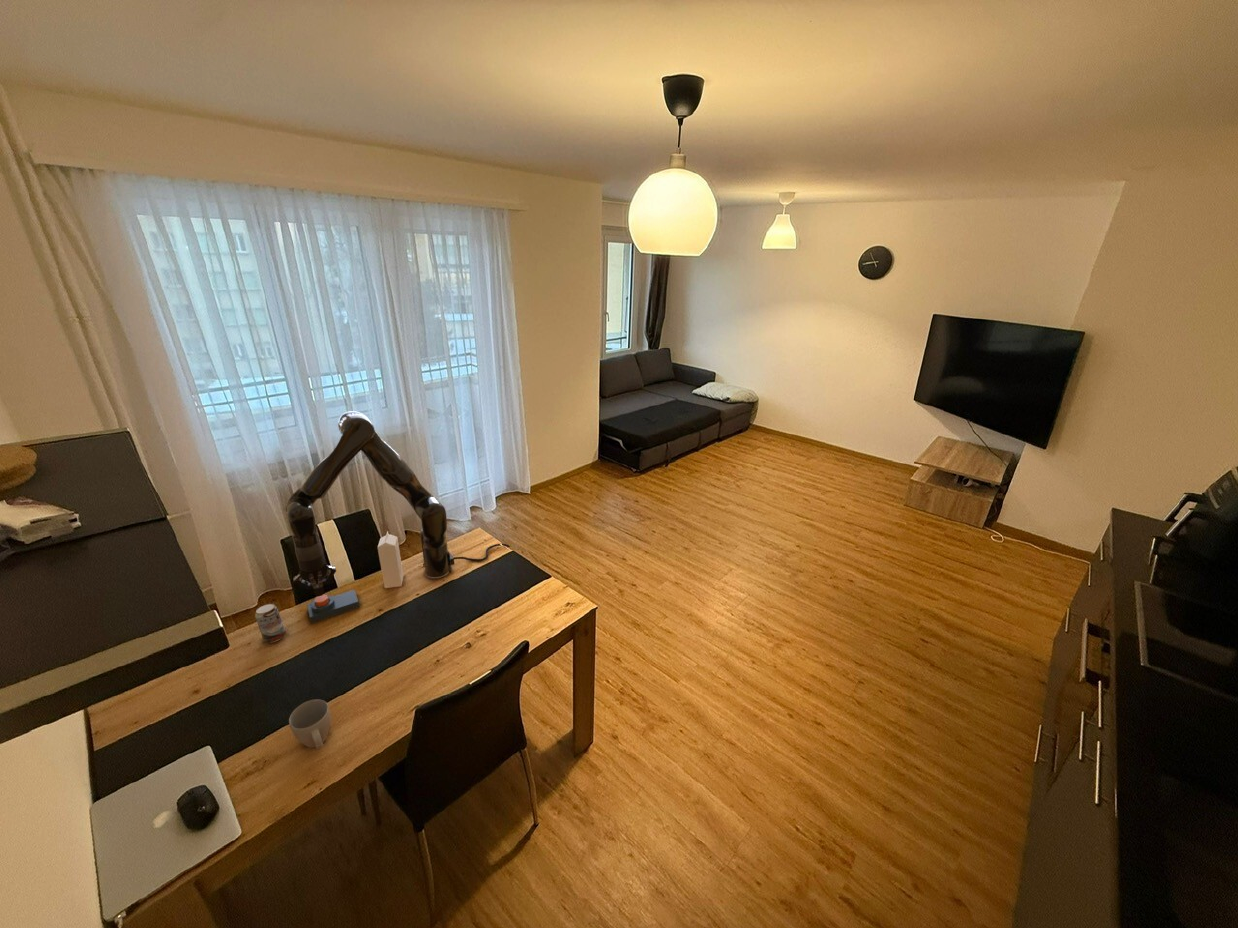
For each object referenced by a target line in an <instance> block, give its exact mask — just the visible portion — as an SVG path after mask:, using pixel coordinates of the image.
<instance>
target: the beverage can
mask: <svg viewBox="0 0 1238 928" xmlns="http://www.w3.org/2000/svg"><path fill="white" fill-rule="evenodd" d="M254 617H255V620H256V623H257V626H258V629H259V631H260V635H261V638H262V640H263V642H264V643H268V644H269V643H270V644H272V643H275V642H278V641H279V640H281V639H283V637H284V636H285V635H286V630H285V627H284V623H283V620H282V617H281V615H280V611H279V609H278V607H277V606H275V604H274V603H267V604H264V605H262V606H259V607H258V608H257V609H256V610H255V614H254Z"/></svg>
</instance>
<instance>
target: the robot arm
mask: <svg viewBox="0 0 1238 928" xmlns="http://www.w3.org/2000/svg"><path fill="white" fill-rule="evenodd" d="M337 427H338V430H339V433H340V434H341V436H340V437H339V440H338V442H337V444H336V446H335V447H334V449H333V450H332V451H331V452H330V453H329V454H328V455H327V456H326V457H325V458H324V459H322V460H321V461H320V462H319V463H317V465H316V466H315V467H314V468H313V469H312V471H311V472H310V473H309V474H308V476H307V477H306V479H305V481H304V482H303V484H302V485H301V486H300V487H299V488H297V489H296V491H295V492H294V493H293V494H291V496H290V497H289V498H288V500H287V501H286V504H285V506H284V510H285V513H286V517H287V521H288V523H289V526H290V529H291V531H292V532H291V536H292V540H293V541H292V542H293V544H294V551H295V552H294V553H295V555H296V559H297V564H298V568H299V571H298V574H297V575H295V576H293V577H292V579H293V583H294V584H296V585H298V586H300V587H301V588H303V589H306V590H310V589H312V590H313V593H314V595H315V597H319V596H322V595H325V589H324V585H328V584H329V583H330V581H331V580H332V578H334V575H335V574H336V572H337V568H336V566H335V565H332V566H331V565H329V564H328V563H327V562H326V557H325V553H324V548H323V547H324V546H323V545H322V542H321V539H320V535H319V531H318V527H317V522H316V515H315V511H314V508H313V505H314V504H315V502H316V501H317V500H321V499H322V498H325V496H326V495H327V493H328V492H329V490H330V489H331V488H332V486H333V485H334V483H336V480H337V479H338V478H339V476H340V475H341V474H342V472H343V471H344V470H345V469H346V467H347V466H348V465H349V464H350V463H351V461H353V460H354V458H355V457H356V456H357V455H358V454H359V453H360V452H362V453H363V454H364V455H365V457H366V459H367V460H368V461H369V463H370V464H371V466H372V467H373V469H374V470H375V472H376V473H377V474H378V475H379V476H380V477H381V479H382V480H383V481H384V482H385V483H386V484H387V485H388V486H389V487H390V488H391V489H393V490H394V491H395V492H397V493H398V494H399V495H401V496H402V497H404V499H405V500H406V501H407V502H408V503H409V505H410V506H411V508H412V509H413V511H414V513H415V514H416V515H417V517H418V518H419V519H420V521H421V530H420V542H421V549H422V550H421V551H422V558H423V564H422V567H423V568H424V575H425V577H427V578H428V579H429V580H439V579H443V578H445V577H447V576H449V574H451V573H452V566H454V565H455V560H465V561H470V562H471V561H472V562H482V561H485V560H487V559H488V557H489V550H490V549H492V548H496V547H501V545H500V544H502V545H503V546H502V547H507V548H511V545H509V544H506V543H496V544H492V545H490V546H488V547H487V548H485V549H486V550H485V556H484V557H482V558H473V557H472V558H470V557H466V556H453V555H452V553H451V552H450V551H449V550H448V540H447V539H448V538H447V532H448V531H447V530H448V518H447V511H446V508H445V506H444V505H443V503H442V502H440V500H439V499H438V498H436V497H435V496H434V495H433V494H432V493H430V492H429V491H428V490H427V488H425V487H424V486H423V485H422V483H421V482H420V481H419V478H418V477H417V475H416V473H415V472H414V471H413V470H412V468H411V467H410V465H408V463H407V462H406V461H405V460H404V459H403V457H402V456H400V455H399V454H398V452H397V451H396V450H394V449H393V448H392V447H391V446H390V445H389V444H388V443H387V442H386V441H385V440H383V439H382V438H381V436H380V435H379V433H378V432H377V431H376V430H375V427H374V424H373V422H372V421H371V420H370V419H369V417H368V416H367V415H365V414H364V413H361V412H359V411H355V410H350V411H346V412H344V413H343V414H341V415H340V416H339V418H338V424H337ZM316 580H317V581H316Z"/></svg>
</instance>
